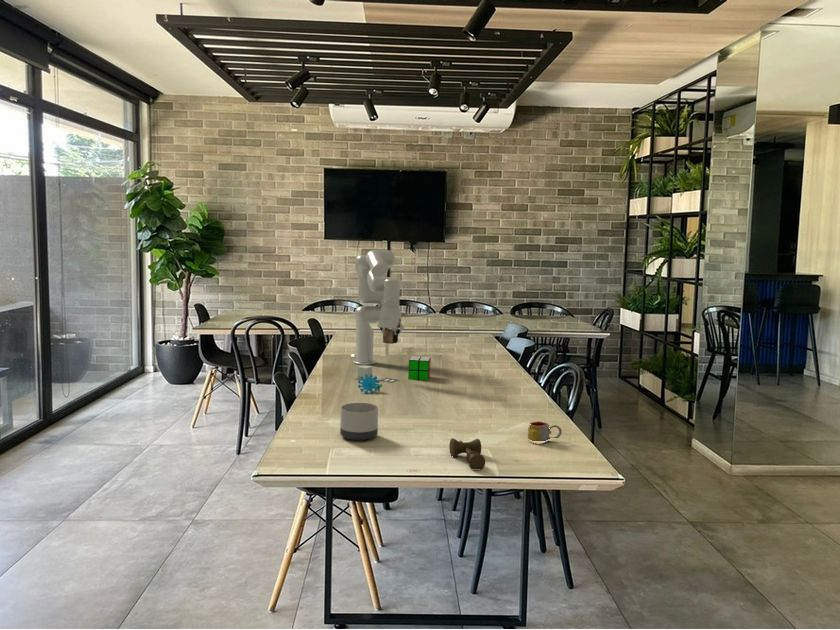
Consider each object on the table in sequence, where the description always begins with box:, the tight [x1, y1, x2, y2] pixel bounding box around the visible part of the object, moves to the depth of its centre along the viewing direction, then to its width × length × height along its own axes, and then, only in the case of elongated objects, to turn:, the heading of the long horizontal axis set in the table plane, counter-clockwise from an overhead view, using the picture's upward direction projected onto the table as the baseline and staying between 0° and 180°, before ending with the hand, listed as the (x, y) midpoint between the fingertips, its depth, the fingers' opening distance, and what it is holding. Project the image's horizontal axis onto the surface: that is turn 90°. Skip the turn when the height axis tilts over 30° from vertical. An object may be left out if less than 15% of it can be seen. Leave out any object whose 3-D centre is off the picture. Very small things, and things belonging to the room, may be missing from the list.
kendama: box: [448, 437, 486, 470], centre depth 200 cm, size 6×10×20 cm
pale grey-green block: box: [357, 365, 373, 381], centre depth 310 cm, size 5×5×6 cm
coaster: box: [378, 377, 401, 384], centre depth 309 cm, size 8×8×1 cm
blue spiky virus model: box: [357, 373, 383, 394], centre depth 286 cm, size 11×6×10 cm
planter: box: [339, 402, 379, 441], centre depth 219 cm, size 13×13×10 cm
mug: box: [527, 421, 563, 441], centre depth 221 cm, size 12×7×7 cm, turn 96°
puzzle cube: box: [407, 356, 432, 381], centre depth 317 cm, size 10×10×10 cm
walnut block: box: [382, 328, 395, 345], centre depth 307 cm, size 5×5×6 cm
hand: (390, 341), depth 307 cm, fingers closed on walnut block, 5 cm apart
